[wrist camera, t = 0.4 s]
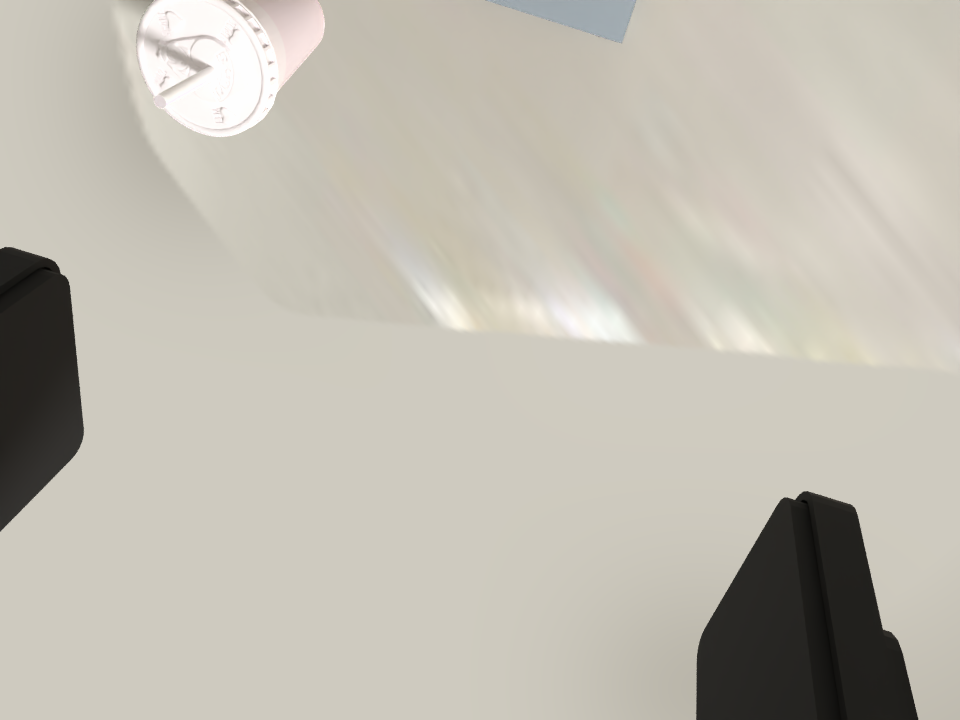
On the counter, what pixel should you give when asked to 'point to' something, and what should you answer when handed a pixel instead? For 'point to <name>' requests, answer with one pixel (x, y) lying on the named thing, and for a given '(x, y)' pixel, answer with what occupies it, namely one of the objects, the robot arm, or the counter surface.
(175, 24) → the smoothie
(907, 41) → the counter surface
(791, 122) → the counter surface
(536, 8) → the base board
